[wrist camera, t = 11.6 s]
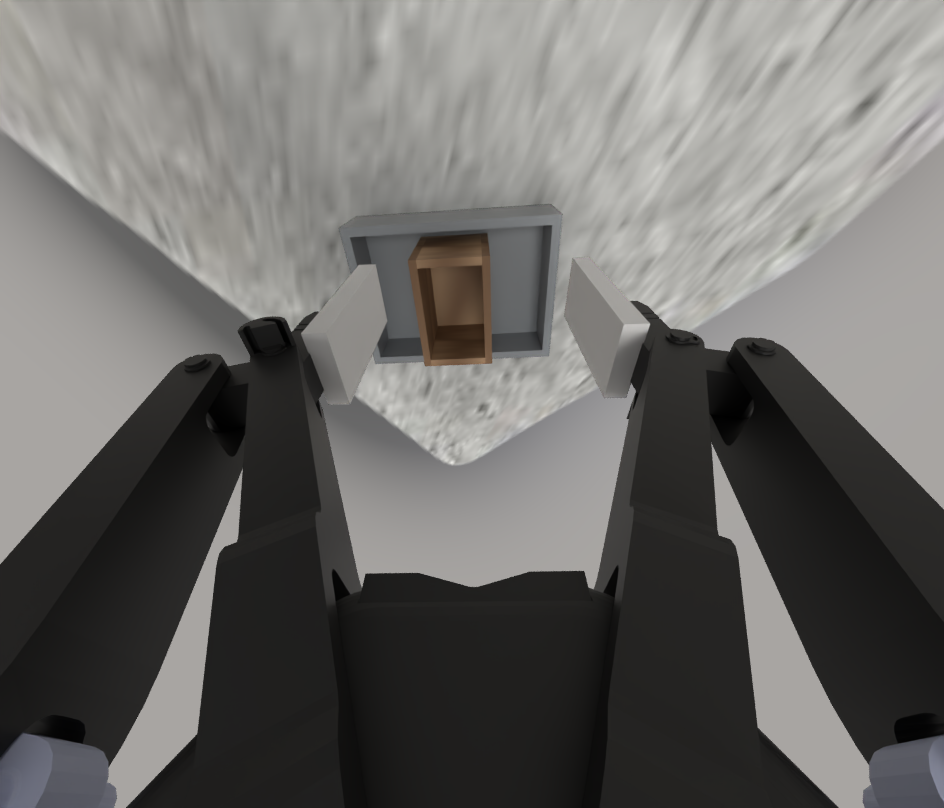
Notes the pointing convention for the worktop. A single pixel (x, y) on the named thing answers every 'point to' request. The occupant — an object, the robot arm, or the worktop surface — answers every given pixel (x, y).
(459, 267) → the walnut crate
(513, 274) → the grey crate
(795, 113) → the worktop surface
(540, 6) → the worktop surface
